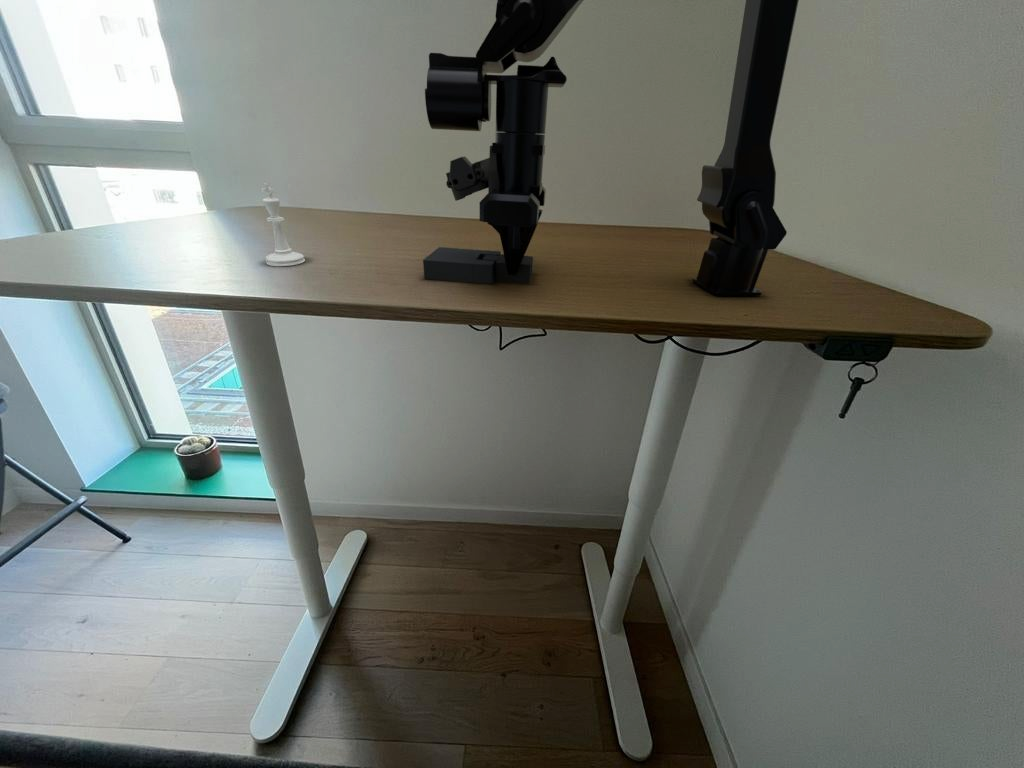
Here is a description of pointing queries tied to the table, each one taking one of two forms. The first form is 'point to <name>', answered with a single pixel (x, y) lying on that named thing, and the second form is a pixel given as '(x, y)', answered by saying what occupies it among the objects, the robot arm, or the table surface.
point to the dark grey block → (501, 270)
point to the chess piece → (279, 234)
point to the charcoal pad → (460, 265)
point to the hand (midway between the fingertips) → (514, 269)
